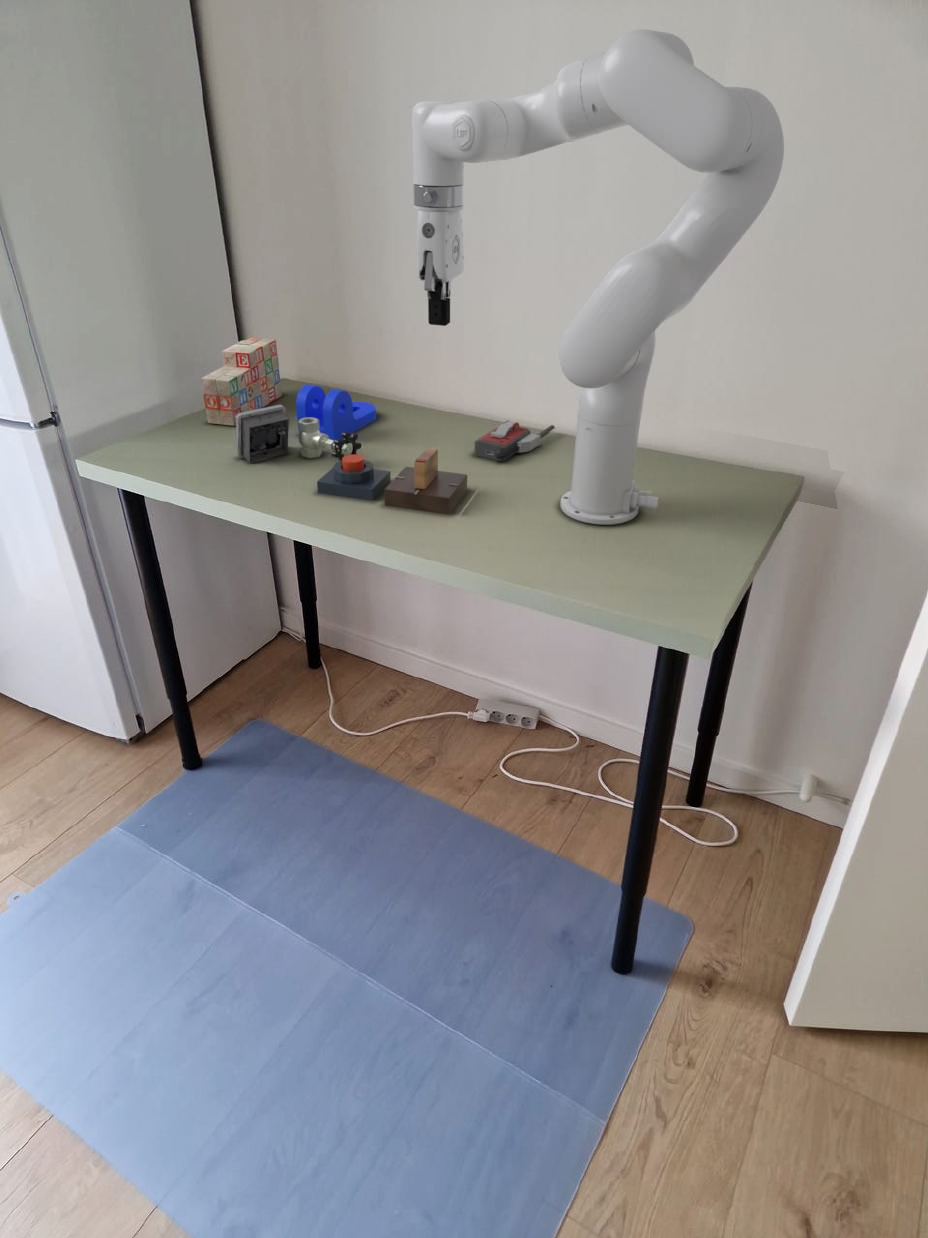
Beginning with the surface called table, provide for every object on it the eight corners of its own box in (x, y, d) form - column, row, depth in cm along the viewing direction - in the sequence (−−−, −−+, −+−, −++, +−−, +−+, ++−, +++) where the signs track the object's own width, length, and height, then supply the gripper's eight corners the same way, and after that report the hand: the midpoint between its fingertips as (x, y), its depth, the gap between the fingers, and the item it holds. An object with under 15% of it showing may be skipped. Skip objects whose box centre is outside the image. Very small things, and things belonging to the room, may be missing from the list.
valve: (290, 457, 150) (336, 473, 143) (286, 422, 146) (334, 437, 140) (317, 447, 154) (362, 462, 148) (313, 413, 150) (360, 427, 144)
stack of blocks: (235, 427, 163) (226, 365, 156) (207, 423, 164) (197, 362, 157) (282, 395, 180) (276, 338, 173) (257, 392, 181) (249, 335, 175)
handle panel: (467, 490, 138) (467, 472, 136) (448, 516, 130) (448, 498, 128) (407, 481, 141) (406, 464, 139) (384, 506, 132) (383, 488, 130)
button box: (390, 482, 140) (389, 461, 138) (373, 501, 134) (371, 478, 132) (337, 475, 143) (336, 454, 141) (317, 493, 136) (315, 471, 134)
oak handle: (427, 473, 136) (427, 446, 134) (438, 474, 136) (437, 447, 133) (414, 488, 131) (413, 460, 128) (425, 489, 131) (424, 461, 128)
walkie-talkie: (510, 467, 147) (557, 434, 161) (511, 444, 144) (559, 412, 159) (468, 457, 150) (518, 426, 165) (468, 434, 148) (519, 404, 162)
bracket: (334, 442, 156) (330, 396, 151) (299, 435, 159) (294, 389, 154) (383, 415, 170) (381, 372, 165) (350, 409, 173) (347, 366, 168)
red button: (367, 465, 137) (367, 455, 136) (359, 473, 134) (358, 463, 133) (348, 462, 138) (347, 453, 137) (339, 470, 135) (338, 460, 134)
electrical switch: (282, 447, 154) (279, 400, 148) (295, 457, 151) (292, 410, 145) (236, 458, 149) (231, 410, 143) (248, 469, 146) (243, 421, 140)
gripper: (446, 204, 116) (446, 336, 126) (476, 194, 128) (474, 315, 138) (397, 202, 117) (401, 332, 127) (431, 192, 129) (432, 312, 139)
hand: (439, 323), depth 132 cm, fingers closed
